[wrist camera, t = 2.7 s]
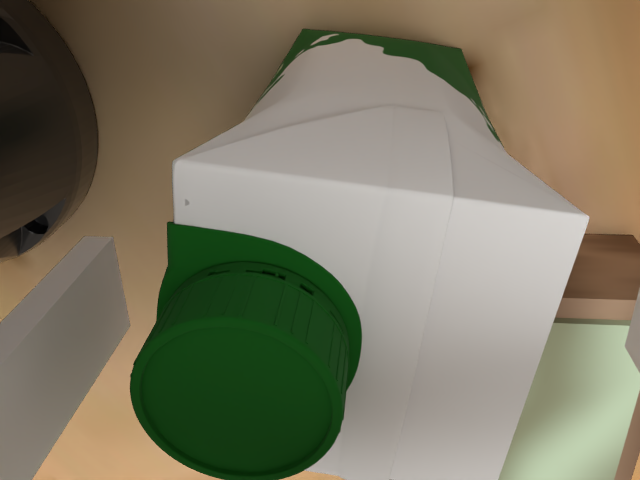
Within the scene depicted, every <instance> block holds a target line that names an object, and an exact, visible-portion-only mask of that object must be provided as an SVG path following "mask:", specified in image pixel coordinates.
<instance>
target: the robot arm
mask: <svg viewBox="0 0 640 480" xmlns="http://www.w3.org/2000/svg"><path fill="white" fill-rule="evenodd" d="M97 150H98V136H97V125H96V118H95V113H94V108H93V104H92V100H91V97H90V94H89V91H88V88H87V85H86V83H85V80H84V78H83V76H82V73H81V71H80V69H79V67H78V65H77V63H76V61H75V59H74V58H73V56H72V54H71V52H70V51H69V49H68V48H67V46H66V44H65V43H64V42H63V40H62V39H61V37H60V36H59V34H58V33H57V32H56V30H55V29H54V28H53V27H52V25H51V24H50V23H49V22H48V21H47V20H46V18H45V17H44V16H43V15H42V14H41V13H40V12H39V11H38V10H37V9H36V8H35V7H34V6H33V5H32V4H31V3H30V2H29V1H28V0H0V262H4V261H7V260H10V259H13V258H15V257H18V256H20V255H22V254H24V253H26V252H28V251H30V250H32V249H33V248H35V247H36V246H38V245H39V244H41V243H42V242H44V241H45V240H46V239H47V238H49V237H50V236H51V235H52V234H53V233H54V232H55V231H56V230H57V229H58V228H59V227H60V226H61V225H62V224H64V223H65V222H66V221H67V220H68V219H69V218H70V217H71V216H72V215H73V213H74V212H75V211H76V210H77V208H78V207H79V206H80V204H81V203H82V201H83V199H84V197H85V196H86V194H87V192H88V189H89V187H90V185H91V182H92V179H93V175H94V171H95V167H96V160H97ZM129 327H130V321H129V316H128V311H127V306H126V301H125V296H124V291H123V285H122V280H121V275H120V270H119V265H118V260H117V255H116V250H115V245H114V240H113V237H97V236H84V237H83V238H82V239H81V240H80V241H79V242H78V243H77V244H76V245H75V246H74V247H73V248H72V249H71V250H70V251H69V252H68V253H67V255H66V256H65V257H64V258H63V259H62V260H61V261H60V262H59V263H58V264H57V265H56V266H55V267H54V268H53V269H52V270H51V271H50V272H49V273H48V274H47V275H46V276H45V277H44V278H43V279H42V280H41V281H40V282H39V283H38V284H37V285H36V286H35V288H34V289H33V290H32V291H31V292H30V293H29V294H28V295H27V296H26V297H25V298H24V299H23V300H22V301H21V302H20V303H19V304H18V305H17V306H16V307H15V308H14V309H13V310H12V311H11V312H10V313H9V314H8V315H7V316H6V317H5V318H4V319H3V320H2V322H1V323H0V480H32V479H33V477H34V476H35V474H36V472H37V471H38V469H39V468H40V466H41V465H42V463H43V461H44V460H45V458H46V457H47V455H48V454H49V452H50V451H51V449H52V447H53V446H54V444H55V443H56V441H57V440H58V438H59V436H60V435H61V433H62V432H63V430H64V429H65V427H66V426H67V424H68V422H69V421H70V419H71V418H72V416H73V415H74V413H75V411H76V410H77V408H78V407H79V405H80V404H81V402H82V401H83V399H84V397H85V396H86V394H87V393H88V391H89V390H90V388H91V386H92V385H93V383H94V382H95V380H96V379H97V377H98V376H99V374H100V372H101V371H102V369H103V368H104V366H105V365H106V363H107V361H108V360H109V358H110V357H111V355H112V354H113V352H114V350H115V349H116V347H117V346H118V344H119V343H120V341H121V340H122V338H123V336H124V335H125V333H126V332H127V330H128V329H129ZM625 348H626V350H627V352H628V353H629V355H630V357H631V359H632V360H633V362H634V364H635V366H636V368H637V369H638V371H639V373H640V288H639V292H638V296H637V300H636V304H635V308H634V312H633V316H632V319H631V323H630V327H629V331H628V335H627V339H626V343H625Z"/></svg>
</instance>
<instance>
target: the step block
mask: <svg viewBox="0 0 640 480" xmlns="http://www.w3.org/2000/svg"><path fill="white" fill-rule="evenodd" d="M639 288H640V244H639V243H638V241H637V240H636V239H635V238H634V236H633V235H600V234H584V236H583V239H582V242H581V245H580V248H579V250H578V253H577V256H576V259H575V262H574V265H573V267H572V270H571V273H570V276H569V279H568V282H567V285H566V287H565V290H564V293H563V296H562V299H561V302H560V305H559V307H558V310H557V313H556V316H555V319H554V322H553V325H552V327H551V330H550V333H549V336H548V339H547V342H546V344H545V347H544V350H543V353H542V356H541V359H540V362H539V364H538V367H537V370H536V373H535V376H534V379H533V382H532V384H531V387H530V390H529V393H528V396H527V399H526V402H525V404H524V407H523V410H522V413H521V416H520V419H519V421H518V424H517V427H516V430H515V433H514V436H513V439H512V441H511V444H510V447H509V450H508V453H507V456H506V459H505V461H504V464H503V467H502V470H501V473H500V476H499V478H498V480H631V479H632V475H633V472H634V469H635V466H636V462H637V459H638V456H639V452H640V373H639V371H638V369H637V368H636V366H635V364H634V362H633V360H632V359H631V357H630V355H629V353H628V352H627V350H626V348H625V343H626V339H627V335H628V331H629V327H630V323H631V319H632V316H633V312H634V308H635V304H636V300H637V296H638V292H639ZM389 480H391V479H389Z"/></svg>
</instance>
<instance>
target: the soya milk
mask: <svg viewBox="0 0 640 480" xmlns="http://www.w3.org/2000/svg"><path fill="white" fill-rule="evenodd" d="M172 189H173V210H174V222H167V247H168V267H167V269H166V272H165V275H164V278H163V281H162V285H161V288H160V292H159V298H158V306H157V321H156V324H155V325H154V327H153V329H152V331H151V333H150V334H149V336H148V338H147V340H146V342H145V343H144V345H143V347H142V349H141V351H140V352H139V354H138V356H137V358H136V360H135V362H134V364H133V365H134V367H133V370H132V373H131V376H130V377H131V381H130V394H131V401H132V405H133V408H134V411H135V414H136V416H137V418H138V420H139V422H140V424H141V425H142V427H143V429H144V430H145V432H146V433H147V434H148V435H149V437H150V438H151V439H152V440H153V441H154V442H155V443H156V444H157V445H158V446H159V447H160V448H161V449H162V450H163V451H164V452H166V453H167V454H168V455H169V456H171V457H172V458H174V459H175V460H177V461H178V462H180V463H182V464H183V465H185V466H187V467H189V468H191V469H193V470H196V471H198V472H200V473H203V474H206V475H209V476H212V477H216V478H220V479H224V480H279V479H283V478H286V477H290V476H292V475H295V474H298V473H300V472H302V471H304V470H305V471H311V472H317V473H324V474H330V475H336V476H340V477H341V478H343V479H346V480H389V479H391V480H498V478H499V476H500V473H501V470H502V467H503V464H504V461H505V459H506V456H507V453H508V450H509V447H510V444H511V441H512V439H513V436H514V433H515V430H516V427H517V424H518V421H519V419H520V416H521V413H522V410H523V407H524V404H525V402H526V399H527V396H528V393H529V390H530V387H531V384H532V382H533V379H534V376H535V373H536V370H537V367H538V364H539V362H540V359H541V356H542V353H543V350H544V347H545V344H546V342H547V339H548V336H549V333H550V330H551V327H552V325H553V322H554V319H555V316H556V313H557V310H558V307H559V305H560V302H561V299H562V296H563V293H564V290H565V287H566V285H567V282H568V279H569V276H570V273H571V270H572V267H573V265H574V262H575V259H576V256H577V253H578V250H579V248H580V245H581V242H582V239H583V236H584V233H585V230H586V227H587V224H588V221H589V218H590V217H589V216H588V215H586V214H585V213H583V212H582V211H581V210H579V209H578V208H577V207H575V206H574V205H573V204H571V203H570V202H569V201H568V200H566V199H565V198H564V197H562V196H561V195H560V194H558V193H557V192H556V191H555V190H553V189H552V188H551V187H549V186H548V185H547V184H546V183H544V182H543V181H542V180H540V179H539V178H538V177H537V176H535V175H534V174H533V173H531V172H530V171H529V170H528V169H526V168H525V167H524V166H522V165H521V164H520V163H519V162H517V161H516V160H515V159H513V158H512V157H511V156H510V155H508V154H507V153H506V151H505V149H504V147H503V145H502V143H501V141H500V139H499V138H498V136H497V134H496V132H495V130H494V128H493V126H492V124H491V122H490V120H489V118H488V116H487V114H486V112H485V109H484V107H483V104H482V102H481V99H480V97H479V94H478V91H477V89H476V86H475V84H474V81H473V79H472V76H471V74H470V71H469V68H468V66H467V63H466V61H465V58H464V55H463V53H462V50H461V49H459V48H452V47H446V46H441V45H435V44H430V43H424V42H418V41H411V40H404V39H396V38H388V37H380V36H372V35H364V34H355V33H344V32H334V31H321V30H310V29H302V31H301V33H300V35H299V36H298V38H297V39H296V41H295V43H294V44H293V46H292V48H291V49H290V51H289V53H288V54H287V56H286V57H285V59H284V61H283V62H282V64H281V66H280V67H279V69H278V71H277V72H276V74H275V76H274V77H273V79H272V81H271V82H270V84H269V85H268V87H267V88H266V90H265V91H264V93H263V94H262V96H261V97H260V98H259V100H258V101H257V103H256V104H255V106H254V107H253V108H252V110H251V111H250V113H249V114H248V116H247V117H246V118H245V120H244V121H243V122H241V123H240V124H238V125H236V126H234V127H232V128H231V129H229V130H227V131H225V132H224V133H222V134H220V135H218V136H216V137H214V138H213V139H211V140H209V141H207V142H205V143H204V144H202V145H200V146H198V147H196V148H195V149H193V150H191V151H189V152H187V153H186V154H184V155H182V156H180V157H178V158H176V159H175V160H173V162H172Z"/></svg>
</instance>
